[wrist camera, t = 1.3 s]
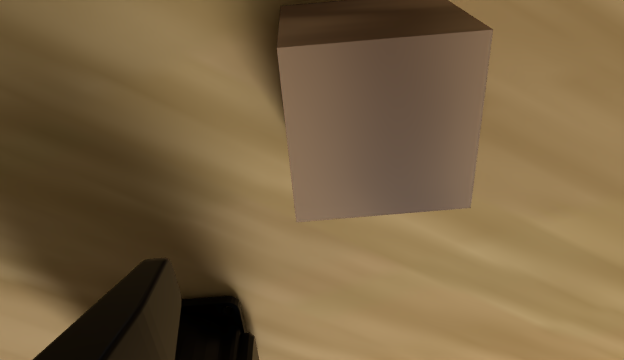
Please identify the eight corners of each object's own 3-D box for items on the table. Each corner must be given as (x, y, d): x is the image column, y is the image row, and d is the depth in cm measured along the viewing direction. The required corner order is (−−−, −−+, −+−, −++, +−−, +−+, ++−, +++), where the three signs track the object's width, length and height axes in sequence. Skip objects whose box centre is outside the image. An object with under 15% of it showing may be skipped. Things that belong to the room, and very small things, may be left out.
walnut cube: (295, 143, 18) (296, 222, 13) (280, 5, 15) (276, 47, 11) (426, 132, 18) (470, 207, 13) (435, -8, 15) (493, 29, 11)
